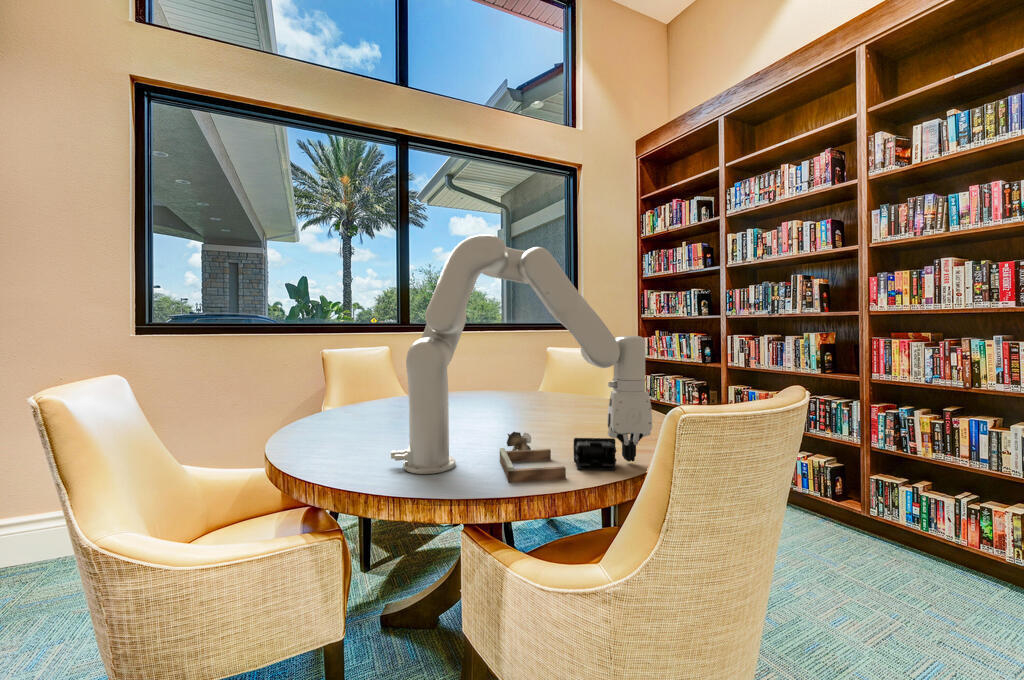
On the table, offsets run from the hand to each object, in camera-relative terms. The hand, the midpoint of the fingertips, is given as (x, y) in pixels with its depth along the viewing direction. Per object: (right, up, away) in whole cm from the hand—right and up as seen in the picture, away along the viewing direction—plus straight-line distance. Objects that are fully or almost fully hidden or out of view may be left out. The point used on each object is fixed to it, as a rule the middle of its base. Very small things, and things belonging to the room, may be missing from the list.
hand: (628, 459), depth 110 cm
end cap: (-9, -2, -1) cm, 9 cm away
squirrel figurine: (-27, -1, +9) cm, 29 cm away
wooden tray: (-25, -1, -4) cm, 25 cm away
